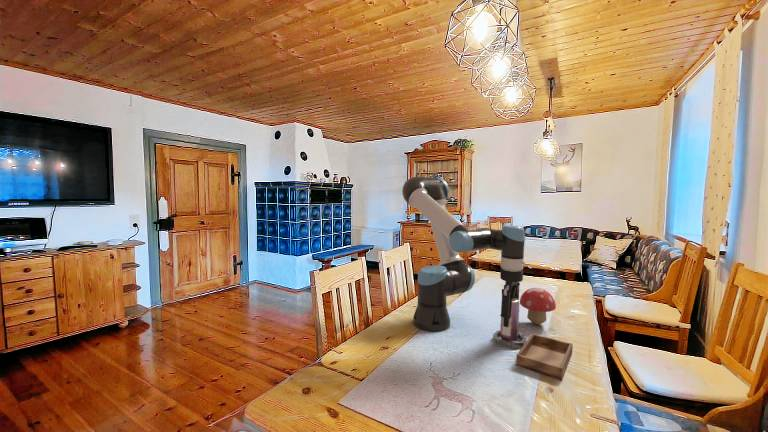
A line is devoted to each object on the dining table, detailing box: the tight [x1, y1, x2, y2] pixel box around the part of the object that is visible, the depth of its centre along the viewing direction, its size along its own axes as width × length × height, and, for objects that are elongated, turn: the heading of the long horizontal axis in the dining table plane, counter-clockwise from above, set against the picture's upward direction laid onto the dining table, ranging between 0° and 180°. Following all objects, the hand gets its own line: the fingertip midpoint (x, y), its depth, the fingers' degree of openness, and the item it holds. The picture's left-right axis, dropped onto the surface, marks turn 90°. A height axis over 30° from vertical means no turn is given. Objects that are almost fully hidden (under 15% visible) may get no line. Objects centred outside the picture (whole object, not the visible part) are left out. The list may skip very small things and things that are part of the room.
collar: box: [492, 330, 528, 350], centre depth 115 cm, size 10×10×2 cm
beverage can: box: [499, 298, 520, 342], centre depth 115 cm, size 6×6×15 cm
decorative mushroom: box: [519, 287, 557, 326], centre depth 131 cm, size 13×13×15 cm
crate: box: [515, 333, 574, 381], centre depth 103 cm, size 13×20×4 cm, turn 142°
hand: (509, 331), depth 115 cm, fingers closed on beverage can, 6 cm apart
